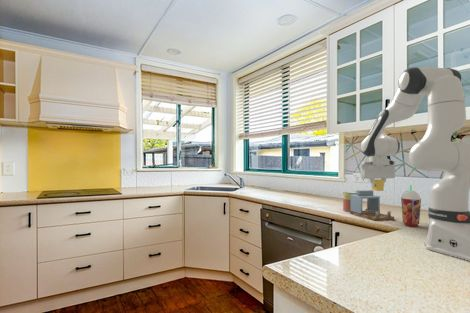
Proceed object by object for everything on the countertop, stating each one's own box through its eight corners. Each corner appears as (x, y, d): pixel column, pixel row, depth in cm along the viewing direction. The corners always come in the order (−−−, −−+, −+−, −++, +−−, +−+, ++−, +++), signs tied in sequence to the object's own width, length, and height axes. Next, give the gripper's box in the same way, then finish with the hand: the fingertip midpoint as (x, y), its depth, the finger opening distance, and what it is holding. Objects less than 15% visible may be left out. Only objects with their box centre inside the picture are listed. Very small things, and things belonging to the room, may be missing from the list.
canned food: (348, 208, 177) (348, 190, 177) (365, 211, 168) (365, 192, 168) (339, 210, 170) (339, 191, 170) (356, 213, 161) (356, 193, 161)
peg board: (394, 219, 144) (394, 211, 144) (374, 220, 141) (374, 212, 141) (368, 212, 163) (368, 205, 163) (350, 213, 160) (350, 206, 160)
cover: (379, 212, 154) (379, 191, 154) (361, 213, 151) (361, 191, 151) (368, 209, 163) (368, 189, 163) (350, 210, 160) (350, 189, 160)
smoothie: (424, 228, 127) (424, 186, 127) (405, 226, 128) (405, 185, 129) (416, 223, 135) (416, 184, 135) (398, 223, 137) (398, 184, 137)
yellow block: (383, 190, 146) (383, 179, 146) (377, 190, 145) (377, 179, 145) (377, 189, 150) (378, 179, 150) (371, 190, 149) (372, 179, 149)
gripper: (366, 161, 142) (366, 187, 142) (397, 161, 147) (397, 186, 147) (358, 161, 148) (357, 186, 148) (388, 161, 153) (388, 185, 153)
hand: (377, 186), depth 148 cm, fingers closed on yellow block, 4 cm apart
